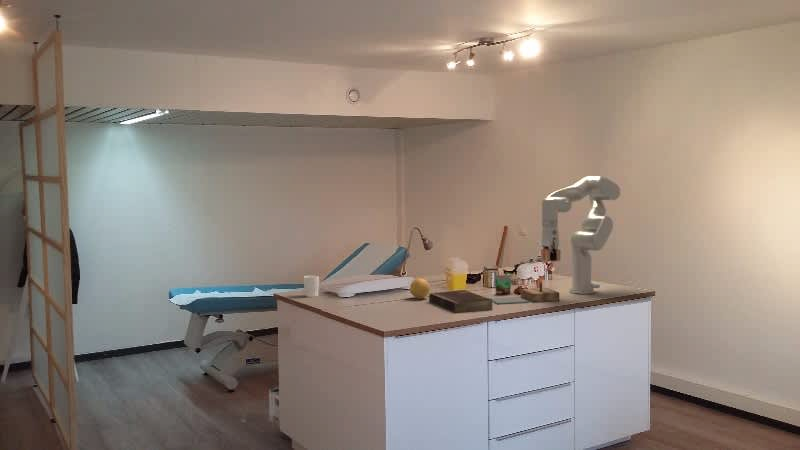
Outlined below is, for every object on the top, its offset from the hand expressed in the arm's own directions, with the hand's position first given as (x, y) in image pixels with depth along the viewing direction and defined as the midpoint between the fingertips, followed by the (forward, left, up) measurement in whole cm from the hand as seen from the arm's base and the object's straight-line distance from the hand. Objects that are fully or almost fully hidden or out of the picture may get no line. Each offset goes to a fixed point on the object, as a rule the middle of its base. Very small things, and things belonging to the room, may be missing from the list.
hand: (549, 259), depth 355 cm
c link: (0, 0, -1) cm, 1 cm away
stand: (+5, 0, -19) cm, 20 cm away
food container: (+15, -19, -20) cm, 31 cm away
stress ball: (+61, -18, -20) cm, 67 cm away
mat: (+22, +1, -19) cm, 29 cm away
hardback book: (+48, +5, -20) cm, 52 cm away
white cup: (+112, -40, -20) cm, 121 cm away
